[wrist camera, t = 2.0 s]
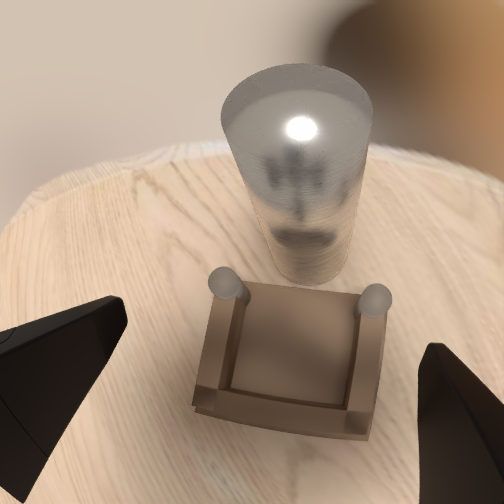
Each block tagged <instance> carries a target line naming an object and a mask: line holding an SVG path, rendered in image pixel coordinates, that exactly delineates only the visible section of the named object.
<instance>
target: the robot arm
mask: <svg viewBox="0 0 504 504" xmlns="http://www.w3.org/2000/svg"><path fill="white" fill-rule="evenodd" d="M127 323H128V319H127V314H126V311H125V306H124V302H123V300H122V299H121V298H120V297H116V296H112V295H110V296H106V297H103V298H100V299H97V300H94V301H91V302H88V303H85V304H82V305H79V306H76V307H73V308H70V309H68V310H65V311H62V312H59V313H56V314H53V315H50V316H47V317H44V318H41V319H38V320H35V321H32V322H29V323H26V324H23V325H20V326H18V327H14V328H11V329H8V330H5V331H2V332H0V486H1V487H2V488H3V489H4V490H6V491H7V492H8V493H9V494H11V495H12V496H13V497H14V498H16V499H17V500H18V501H19V502H21V503H22V504H23V503H24V502H25V501H26V499H27V497H28V495H29V493H30V492H31V490H32V488H33V486H34V484H35V482H36V480H37V479H38V477H39V475H40V473H41V471H42V469H43V468H44V466H45V464H46V462H47V461H48V458H49V457H50V455H51V453H52V451H53V450H54V448H55V446H56V445H57V443H58V441H59V439H60V438H61V436H62V434H63V433H64V431H65V429H66V428H67V426H68V424H69V423H70V421H71V419H72V418H73V416H74V414H75V413H76V411H77V410H78V408H79V406H80V405H81V403H82V402H83V400H84V398H85V397H86V395H87V394H88V392H89V390H90V389H91V387H92V386H93V384H94V383H95V381H96V379H97V378H98V376H99V375H100V373H101V372H102V370H103V369H104V367H105V365H106V364H107V362H108V360H109V359H110V357H111V355H112V353H113V351H114V349H115V347H116V345H117V343H118V341H119V340H120V338H121V336H122V334H123V332H124V330H125V328H126V326H127ZM417 422H418V440H419V469H420V492H419V504H504V404H503V403H502V402H501V401H500V400H499V399H498V398H497V397H496V396H495V395H494V394H493V393H492V392H491V391H490V390H489V388H488V387H487V386H486V385H485V384H484V383H483V382H482V381H481V380H480V379H479V378H478V377H477V376H476V375H475V374H474V373H473V372H472V371H471V370H470V369H469V368H468V367H467V366H466V365H465V364H464V363H463V362H462V361H461V360H460V359H459V358H458V357H457V356H456V355H455V354H454V353H453V352H452V351H451V350H450V349H449V348H448V347H447V346H446V345H444V344H443V343H433V342H431V343H429V344H428V346H427V348H426V350H425V353H424V355H423V358H422V360H421V363H420V365H419V369H418V418H417Z"/></svg>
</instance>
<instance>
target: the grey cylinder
mask: <svg viewBox="0 0 504 504" xmlns="http://www.w3.org/2000/svg"><path fill="white" fill-rule="evenodd" d="M372 111H373V110H372V104H371V101H370V98H369V96H368V95H367V93H366V91H365V90H364V89H363V88H362V87H361V85H359V84H358V83H357V82H356V81H355V80H354V79H352V78H351V77H349V76H348V75H346V74H344V73H342V72H340V71H337V70H335V69H332V68H329V67H325V66H321V65H314V64H286V65H280V66H275V67H271V68H268V69H265V70H262V71H260V72H257V73H255V74H253V75H251V76H250V77H248V78H246V79H245V80H244V81H242V82H241V83H239V84H238V85H237V86H236V87H235V88H234V89H233V90H232V91H231V92H230V94H229V95H228V97H227V98H226V100H225V102H224V104H223V107H222V111H221V124H222V127H223V130H224V133H225V135H226V138H227V141H228V143H229V146H230V148H231V151H232V153H233V156H234V158H235V161H236V163H237V166H238V168H239V171H240V174H241V176H242V179H243V181H244V184H245V186H246V189H247V192H248V194H249V197H250V199H251V202H252V204H253V207H254V210H255V212H256V215H257V217H258V220H259V223H260V225H261V228H262V231H263V233H264V236H265V238H266V241H267V244H268V246H269V249H270V252H271V254H272V257H273V260H274V262H275V265H276V267H277V268H278V270H279V271H280V272H281V274H282V275H283V276H285V277H286V278H287V279H289V280H290V281H292V282H294V283H297V284H300V285H306V286H313V285H319V284H322V283H325V282H327V281H329V280H331V279H332V278H334V277H335V276H336V275H337V274H338V273H339V272H340V271H341V269H342V267H343V266H344V263H345V261H346V257H347V253H348V249H349V244H350V240H351V235H352V231H353V226H354V222H355V217H356V212H357V207H358V202H359V197H360V192H361V186H362V181H363V175H364V169H365V163H366V157H367V151H368V145H369V138H370V131H371V124H372V115H373V112H372Z"/></svg>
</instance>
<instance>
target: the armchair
mask: <svg viewBox="0 0 504 504" xmlns="http://www.w3.org/2000/svg"><path fill="white" fill-rule="evenodd" d="M208 285H209V288H210V290H211V291H212V292H213V293H214V298H213V303H212V307H211V312H210V317H209V322H208V326H207V331H206V336H205V341H204V346H203V350H202V355H201V360H200V365H199V370H198V375H197V380H196V385H195V391H194V396H193V401H192V406H195V407H196V408H195V412H196V413H200V414H203V415H207V416H211V417H215V418H219V419H223V420H227V421H231V422H236V423H240V424H245V425H250V426H254V427H259V428H265V429H270V430H276V431H282V432H288V433H294V434H301V435H308V436H316V437H324V438H334V439H345V440H358V441H368V438H369V433H370V428H371V424H372V419H373V414H374V408H375V403H376V397H377V391H378V385H379V379H380V372H381V365H382V358H383V350H384V341H385V332H386V322H387V311H388V310H389V308H390V307H391V304H392V295H391V292H390V291H389V289H388V288H387V287H386V286H384V285H382V284H372V285H369V286H368V287H367V288H366V289H365V290H364V292H363V293H362V295H359V294H349V293H339V292H330V291H321V290H312V289H303V288H295V287H286V286H278V285H270V284H262V283H254V282H246V281H241V279H240V278H239V277H238V276H237V274H236V273H235V272H234V271H233V270H232V269H231V268H229V267H219V268H217V269H215V270H214V271H213V272H212V273H211V274H210V276H209V279H208Z"/></svg>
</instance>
